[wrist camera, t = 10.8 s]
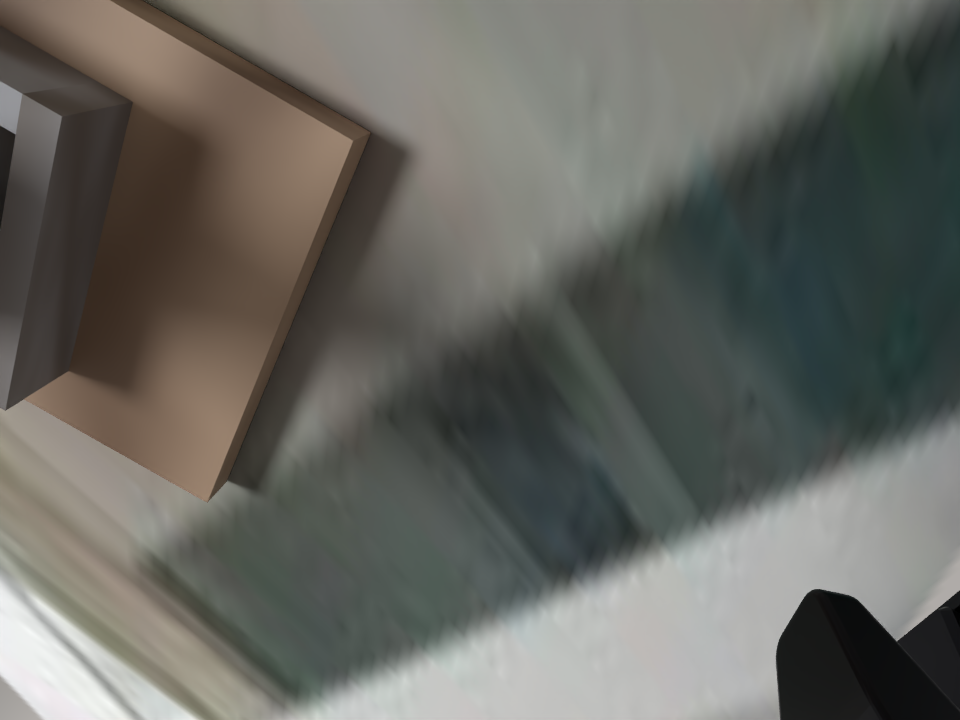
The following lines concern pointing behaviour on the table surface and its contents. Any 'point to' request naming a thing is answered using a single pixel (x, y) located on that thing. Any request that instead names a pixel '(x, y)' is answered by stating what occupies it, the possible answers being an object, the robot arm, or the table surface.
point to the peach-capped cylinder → (5, 163)
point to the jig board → (155, 228)
